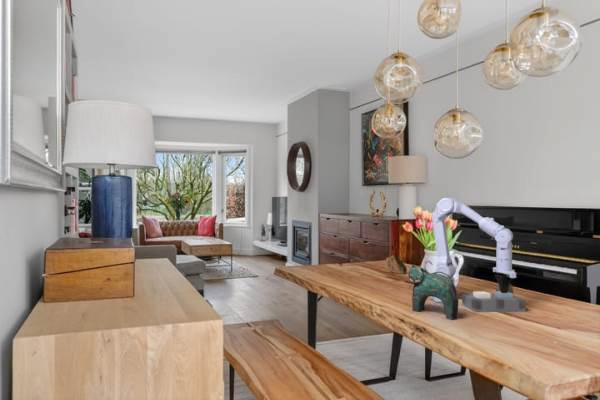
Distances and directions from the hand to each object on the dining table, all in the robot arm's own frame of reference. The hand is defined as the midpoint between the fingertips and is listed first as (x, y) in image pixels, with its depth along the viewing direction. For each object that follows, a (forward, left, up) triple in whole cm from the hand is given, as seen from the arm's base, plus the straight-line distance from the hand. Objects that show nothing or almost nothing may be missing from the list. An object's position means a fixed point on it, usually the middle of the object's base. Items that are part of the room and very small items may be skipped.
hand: (503, 292), depth 176 cm
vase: (+7, +14, -6) cm, 17 cm away
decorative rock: (-22, +84, -6) cm, 87 cm away
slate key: (0, 0, -4) cm, 4 cm away
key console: (-5, 0, -6) cm, 8 cm away
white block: (-9, 0, -4) cm, 10 cm away
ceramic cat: (-32, -8, -6) cm, 33 cm away
